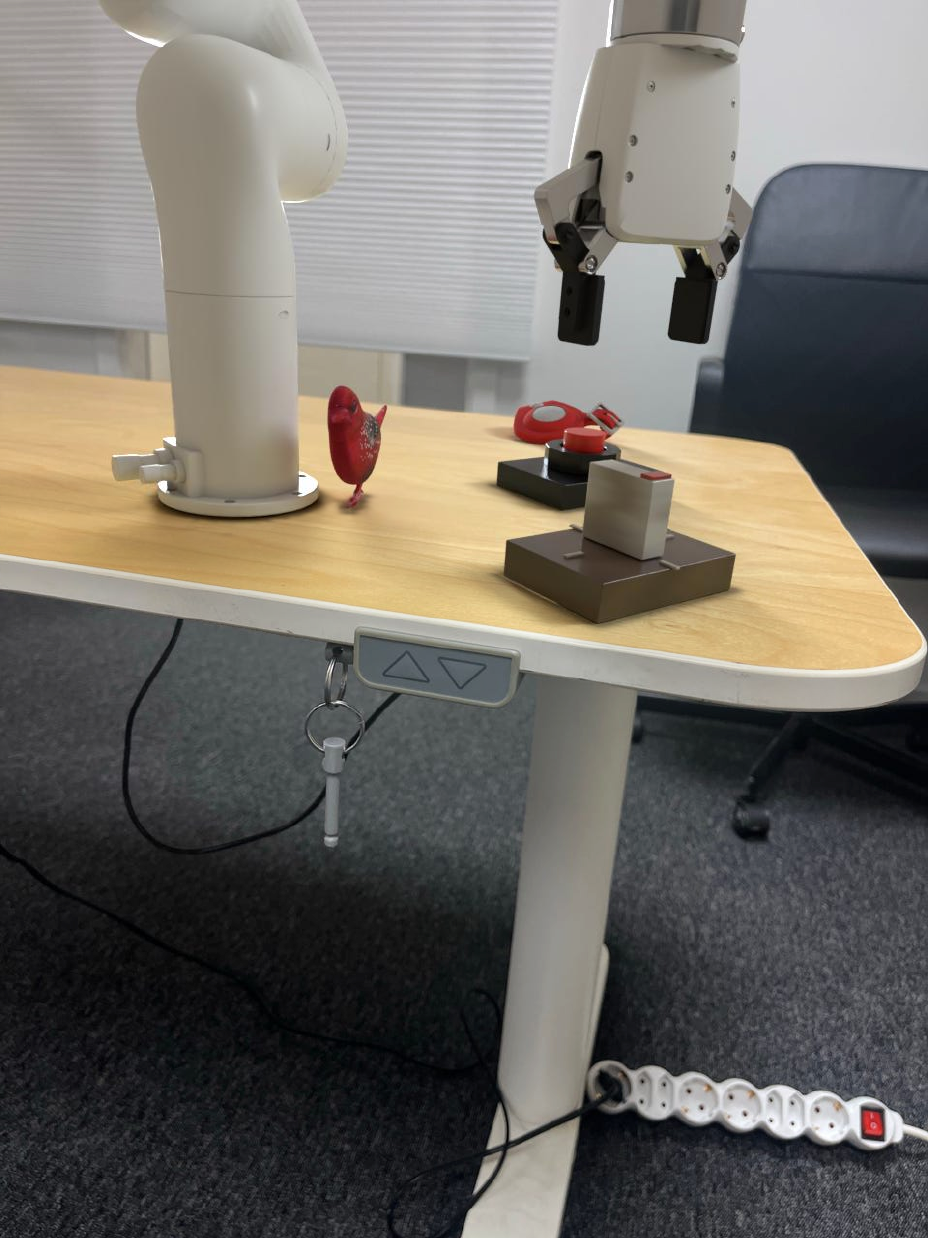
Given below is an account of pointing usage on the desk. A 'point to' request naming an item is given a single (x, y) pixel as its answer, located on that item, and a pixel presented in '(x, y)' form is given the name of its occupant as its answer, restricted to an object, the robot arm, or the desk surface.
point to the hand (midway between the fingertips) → (634, 342)
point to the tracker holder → (561, 421)
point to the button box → (556, 474)
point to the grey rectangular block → (628, 508)
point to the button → (584, 439)
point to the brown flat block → (615, 572)
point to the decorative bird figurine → (353, 439)
